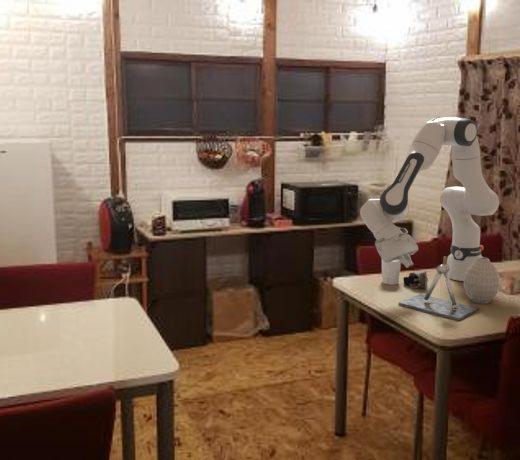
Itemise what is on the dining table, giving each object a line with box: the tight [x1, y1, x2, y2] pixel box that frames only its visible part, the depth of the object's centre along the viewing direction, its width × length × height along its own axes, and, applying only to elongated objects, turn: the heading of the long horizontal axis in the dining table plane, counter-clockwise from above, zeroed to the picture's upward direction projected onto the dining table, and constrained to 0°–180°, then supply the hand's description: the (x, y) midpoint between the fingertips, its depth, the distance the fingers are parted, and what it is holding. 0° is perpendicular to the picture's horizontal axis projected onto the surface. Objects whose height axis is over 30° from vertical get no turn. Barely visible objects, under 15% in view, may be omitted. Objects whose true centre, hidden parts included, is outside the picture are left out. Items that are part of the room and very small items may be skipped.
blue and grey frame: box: [398, 256, 480, 322], centre depth 219 cm, size 15×24×19 cm, turn 45°
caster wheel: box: [403, 270, 429, 289], centre depth 248 cm, size 7×11×10 cm
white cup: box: [381, 258, 402, 286], centre depth 252 cm, size 8×8×10 cm
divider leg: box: [424, 264, 447, 300], centre depth 219 cm, size 2×3×15 cm, turn 45°
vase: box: [463, 256, 501, 304], centre depth 227 cm, size 13×13×17 cm
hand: (410, 266), depth 225 cm, fingers closed
